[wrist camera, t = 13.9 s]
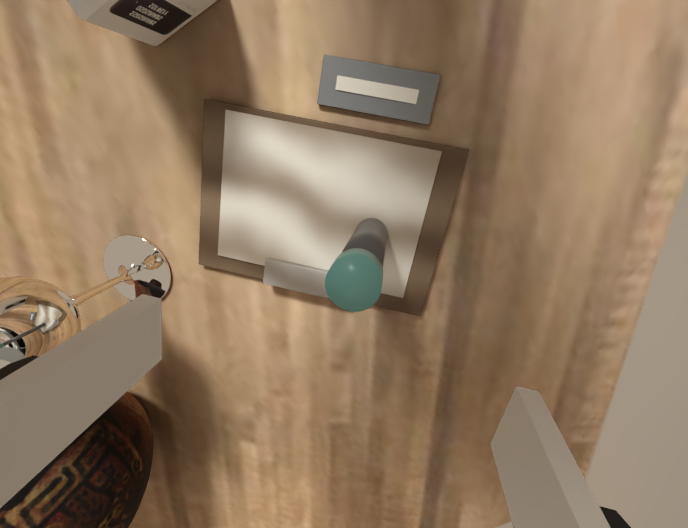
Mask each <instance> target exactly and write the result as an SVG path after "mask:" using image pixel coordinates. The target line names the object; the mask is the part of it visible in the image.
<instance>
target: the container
mask: <svg viewBox="0 0 688 528" xmlns="http://www.w3.org/2000/svg"><path fill="white" fill-rule="evenodd" d="M67 1H68V3H69V4H70V6H71V8H72V9H73V11H74V12H75V14H76V15H77V17H78V18H80V19H82V20H84V21H87V22H90V23H93V24H95V25H98V26H101V27H103V28H106V29H109V30H112V31H114V32H117V33H120V34H123V35H125V36H128V37H131V38H133V39H136V40H139V41H142V42H144V43H147V44H150V45H153V46H158V45H159V44H161V43H162V42H163V41H165V40H166V39H167V38H168V37H170V36H171V35H172V34H174V33H175V32H176V31H178V30H179V29H180V28H182V27H183V26H184V25H186V24H187V23H188V22H190V21H191V20H192V19H193V18H195V17H196V16H197V15H199V14H200V13H201V12H203V11H204V10H205V9H207V8H208V7H209V6H211V5H212V4H213V3H215V2H216V1H217V0H67Z"/></svg>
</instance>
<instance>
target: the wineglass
mask: <svg viewBox="0 0 688 528" xmlns="http://www.w3.org/2000/svg"><path fill="white" fill-rule="evenodd" d="M103 265H104V270H105V273H106V275H107V278H108V280H107V281H105V282H103V283H101V284H99V285H97V286H95V287H93V288H91V289H89V290H86V291H84V292H82V293H79V294H76V295H73V296H69V295H68V294H66V293H65V292H64V291H62V290H61V289H59V288H57V287H56V286H54V285H52V284H50V283H48V282H45V281H42V280H38V279H33V278H28V277H18V276H17V277H2V278H0V369H1V368H3V367H5V366H6V365H8V364H10V363H13V362H16V361H18V360H21V359H24V358H27V357H30V356H32V355H34V356H38V357H39V356H41V355H43V354H44V353H46V352H48V351H49V350H51V349H53V348H54V347H56V346H58V345H59V344H61V343H63V342H64V341H66V340H67V339H69V338H71V337H72V336H74V335H76V334H77V333H79V332H81V319H80V314H79V310H78V308H77V306H78V305H80V304H81V303H83V302H84V301H86V300H88V299H89V298H91V297H93V296H95V295H97V294H99V293H101V292H103V291H105V290H107V289H109V288H110V287H112V286H113V287H114V288H115V289H116V290H117V291H118V292H119V293H120V294H121V295H123V296H124V297H126V298H128V299H130V300H133V299H135V298H137V297H138V296H140V295H142V294H144V295H148V296H153V297H157V298H163V297H164V296H165V295H166V293H167V292H168V290H169V287H170V284H171V272H170V268H169V265H168V262H167V260H166V258H165V256H164V255H163V254H162V252H161V251H160V250H159V249H158V248H157V247H156V246H155V245H154V244H153V243H151V242H150V241H148V240H146V239H144V238H142V237H139V236H135V235H122V236H119V237H116V238H114V239H113V240H112V241H110V243H109V244H108V245H107V247H106V249H105V251H104V256H103Z"/></svg>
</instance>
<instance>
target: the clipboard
mask: <svg viewBox="0 0 688 528" xmlns="http://www.w3.org/2000/svg"><path fill="white" fill-rule="evenodd" d="M468 151H469V150H468V149H462V148H457V147H452V146H447V145H442V144H436V143H431V142H426V141H421V140H415V139H410V138H405V137H400V136H395V135H389V134H384V133H379V132H374V131H369V130H363V129H358V128H353V127H348V126H342V125H337V124H332V123H327V122H322V121H316V120H311V119H306V118H301V117H296V116H290V115H285V114H280V113H275V112H269V111H264V110H259V109H254V108H249V107H243V106H238V105H233V104H228V103H223V102H217V101H212V100H207V99H204V126H203V155H202V184H201V214H200V243H199V264H200V265H204V266H208V267H213V268H217V269H221V270H225V271H230V272H234V273H238V274H242V275H247V276H251V277H255V278H259V279H263V283H264V284H268V285H273V286H277V287H281V288H285V289H290V290H294V291H298V292H302V293H307V294H311V295H315V296H319V297H324V298H328V299H330V298H329V297H328V295H327V292H326V289H325V278H326V275H327V272H328V270H329V269H330V267H331V266H332V264H333V262H334V261H335V259H336V258H337V257H338V256H339V255H340V254H341V253H342V251H343V249H344V248H345V246H346V244H347V243H348V241H349V239H350V238H351V236H352V234H353V233H354V231H355V229H356V228H357V226H358V224H359V223H360V222H361V221H363V220H365V219H367V218H375V219H378V220H380V221H382V222H383V223H384V225H385V226H386V228H387V232H388V236H387V243H386V249H385V256H384V263H383V282H382V289H381V294H380V296H379V298H378V300H377V301H376V302H375V304H373V305H374V306H379V307H383V308H387V309H391V310H396V311H400V312H404V313H408V314H413V315H417V316H421V312H422V309H423V306H424V302H425V299H426V295H427V292H428V288H429V285H430V282H431V278H432V275H433V271H434V268H435V264H436V261H437V258H438V254H439V251H440V247H441V244H442V240H443V237H444V234H445V230H446V227H447V223H448V220H449V216H450V213H451V210H452V206H453V203H454V199H455V196H456V192H457V189H458V186H459V182H460V179H461V175H462V172H463V168H464V165H465V162H466V158H467V155H468Z"/></svg>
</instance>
